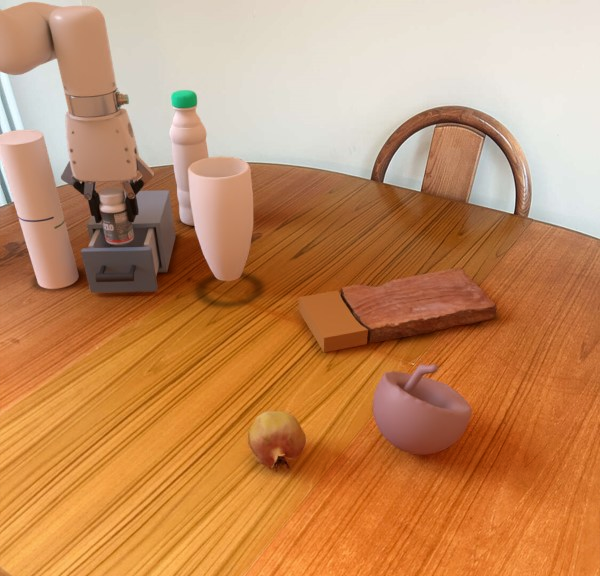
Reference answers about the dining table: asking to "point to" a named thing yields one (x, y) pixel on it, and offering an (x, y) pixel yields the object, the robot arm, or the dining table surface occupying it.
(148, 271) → the drawer
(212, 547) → the dining table surface
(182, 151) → the water bottle
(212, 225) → the cup
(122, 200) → the pill bottle
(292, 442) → the fruit
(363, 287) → the brown flat slab
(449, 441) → the mortar and pestle
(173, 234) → the cabinet
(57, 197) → the cylindrical container
